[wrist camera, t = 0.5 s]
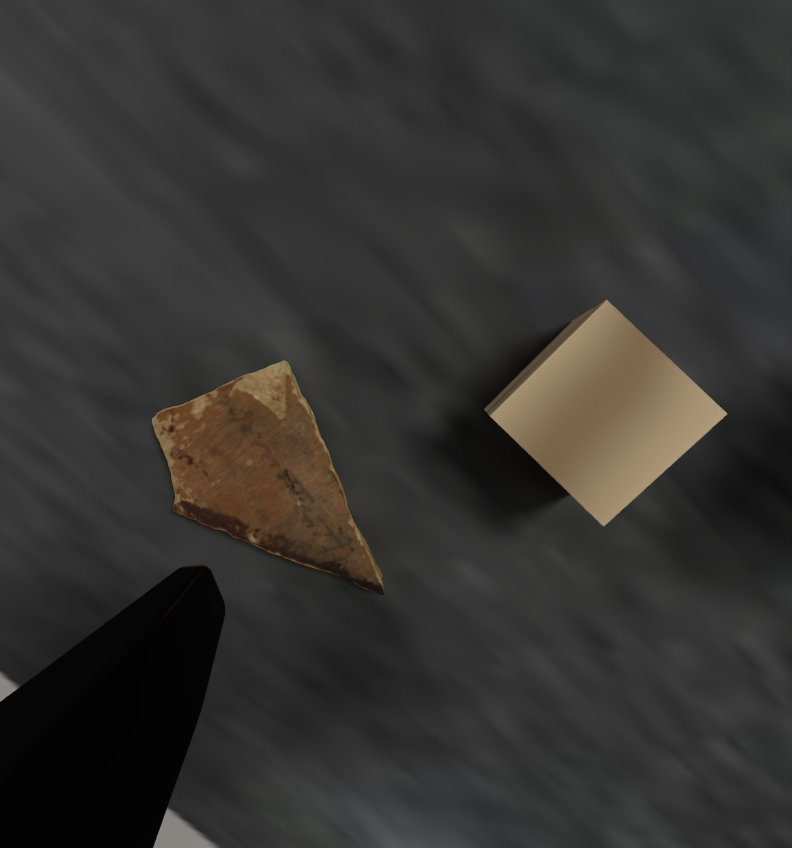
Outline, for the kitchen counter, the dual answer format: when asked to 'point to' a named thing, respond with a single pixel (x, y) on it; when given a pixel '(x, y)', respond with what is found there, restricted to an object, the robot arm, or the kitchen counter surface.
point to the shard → (264, 474)
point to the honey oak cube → (604, 411)
